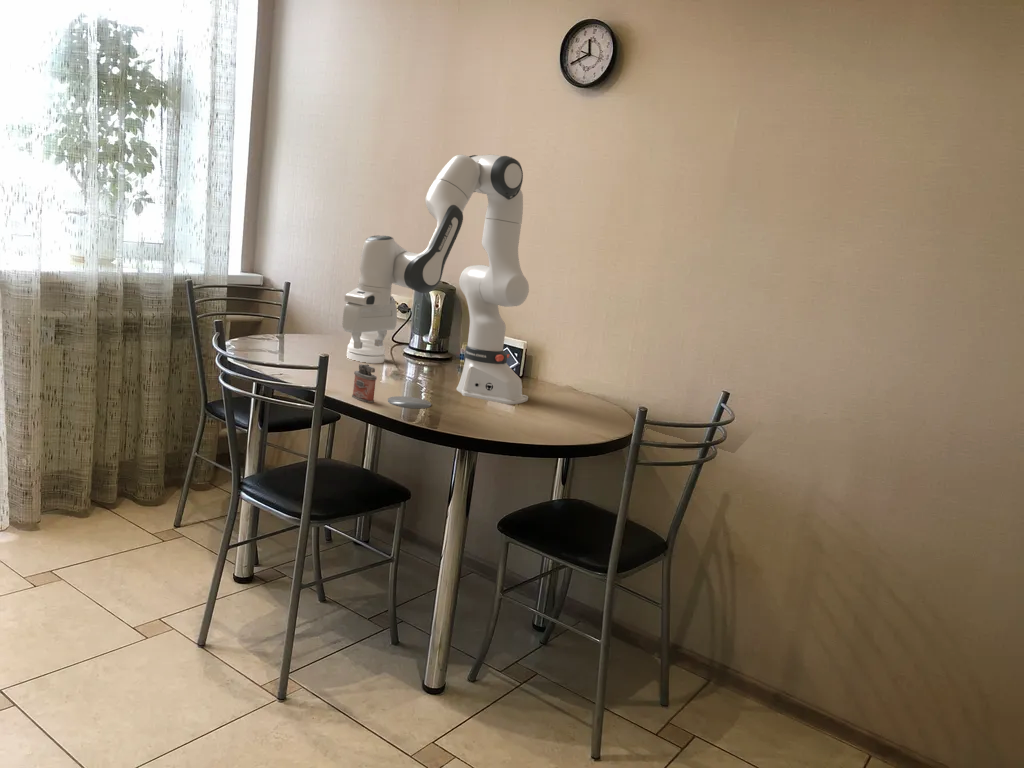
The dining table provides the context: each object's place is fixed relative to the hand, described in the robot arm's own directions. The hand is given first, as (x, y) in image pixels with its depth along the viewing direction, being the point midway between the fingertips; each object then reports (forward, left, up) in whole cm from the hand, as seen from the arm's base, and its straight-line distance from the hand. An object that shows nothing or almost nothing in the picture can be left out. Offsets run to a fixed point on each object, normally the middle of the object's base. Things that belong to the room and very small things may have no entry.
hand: (368, 347), depth 215 cm
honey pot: (+34, -47, -15) cm, 60 cm away
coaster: (-10, -8, -15) cm, 20 cm away
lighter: (0, 0, -15) cm, 15 cm away
